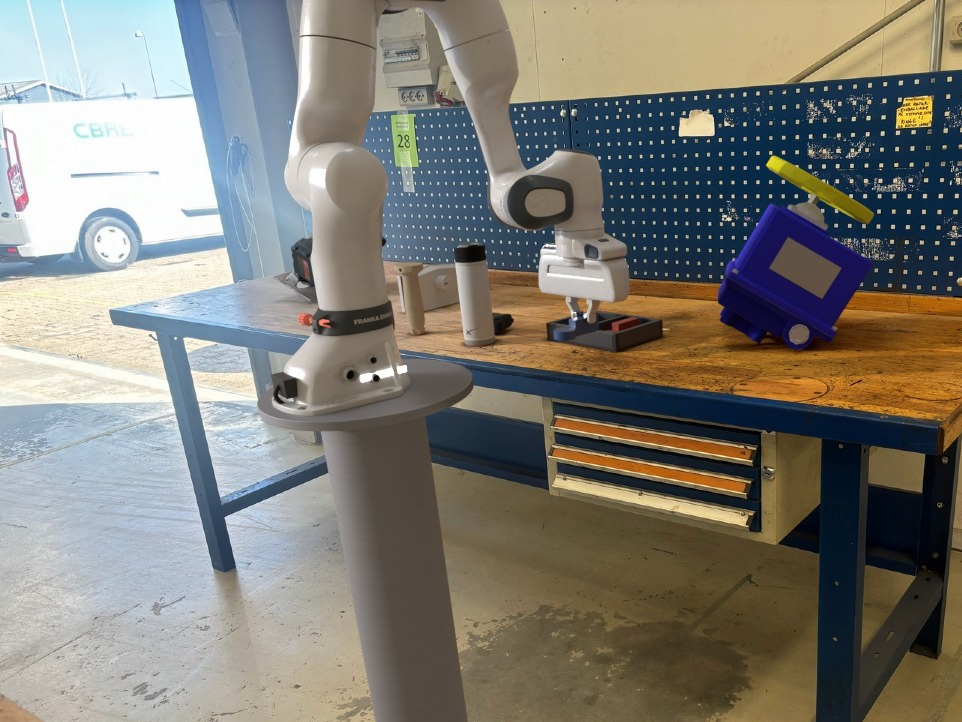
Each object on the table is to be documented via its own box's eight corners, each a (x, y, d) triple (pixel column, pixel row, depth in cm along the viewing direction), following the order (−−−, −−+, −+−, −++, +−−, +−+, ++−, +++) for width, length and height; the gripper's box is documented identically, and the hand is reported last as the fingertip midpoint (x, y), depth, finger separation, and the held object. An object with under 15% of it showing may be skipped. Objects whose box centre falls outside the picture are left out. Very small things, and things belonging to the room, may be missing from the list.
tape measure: (502, 336, 178) (500, 319, 177) (472, 336, 180) (470, 318, 179) (515, 329, 184) (513, 312, 183) (486, 328, 186) (484, 311, 185)
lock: (422, 315, 204) (417, 273, 200) (397, 312, 209) (391, 271, 205) (478, 300, 217) (473, 260, 213) (453, 297, 222) (448, 259, 219)
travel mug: (469, 348, 170) (457, 247, 163) (461, 341, 176) (449, 243, 169) (499, 343, 172) (488, 243, 165) (490, 337, 178) (480, 240, 171)
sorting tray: (616, 352, 161) (615, 334, 160) (547, 339, 173) (545, 322, 172) (663, 336, 170) (662, 319, 169) (594, 325, 183) (593, 309, 181)
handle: (420, 337, 182) (410, 266, 176) (399, 334, 185) (389, 265, 180) (436, 332, 185) (427, 263, 180) (415, 329, 189) (406, 261, 184)
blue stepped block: (588, 328, 161) (587, 313, 160) (603, 331, 158) (602, 315, 157) (549, 339, 154) (548, 322, 153) (564, 341, 151) (563, 325, 150)
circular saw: (252, 292, 225) (274, 207, 213) (340, 269, 256) (363, 193, 243) (313, 333, 222) (338, 249, 210) (393, 305, 253) (420, 230, 240)
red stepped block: (628, 330, 173) (627, 316, 172) (643, 333, 170) (642, 318, 169) (594, 341, 166) (593, 326, 165) (609, 344, 164) (608, 328, 163)
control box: (687, 306, 154) (776, 152, 144) (693, 287, 179) (769, 155, 169) (809, 376, 155) (907, 228, 145) (798, 348, 180) (880, 220, 170)
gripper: (528, 243, 156) (533, 318, 161) (609, 250, 143) (612, 331, 148) (553, 239, 161) (557, 312, 165) (634, 246, 147) (636, 325, 152)
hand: (583, 321), depth 156 cm, fingers closed on blue stepped block, 2 cm apart
